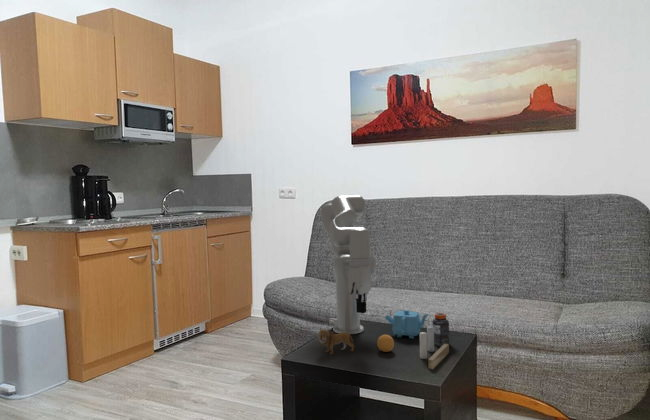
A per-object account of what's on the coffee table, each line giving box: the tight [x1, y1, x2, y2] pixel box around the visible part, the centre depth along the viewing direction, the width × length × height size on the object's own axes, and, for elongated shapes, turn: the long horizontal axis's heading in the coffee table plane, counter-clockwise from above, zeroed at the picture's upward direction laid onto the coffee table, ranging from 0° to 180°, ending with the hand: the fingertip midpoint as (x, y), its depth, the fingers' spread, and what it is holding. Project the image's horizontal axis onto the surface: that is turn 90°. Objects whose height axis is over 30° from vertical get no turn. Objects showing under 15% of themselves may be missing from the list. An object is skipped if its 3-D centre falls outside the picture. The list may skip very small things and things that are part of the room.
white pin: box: [419, 331, 428, 360], centre depth 162 cm, size 2×2×8 cm
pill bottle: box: [432, 312, 450, 347], centre depth 177 cm, size 6×6×11 cm
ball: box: [376, 334, 395, 353], centre depth 170 cm, size 6×6×6 cm
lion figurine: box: [317, 328, 356, 355], centre depth 171 cm, size 15×5×9 cm, turn 116°
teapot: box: [384, 309, 430, 340], centre depth 188 cm, size 18×14×10 cm
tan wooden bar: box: [427, 343, 450, 370], centre depth 160 cm, size 2×18×3 cm, turn 149°
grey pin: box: [426, 325, 435, 353], centre depth 169 cm, size 2×2×8 cm
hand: (361, 312), depth 173 cm, fingers closed
